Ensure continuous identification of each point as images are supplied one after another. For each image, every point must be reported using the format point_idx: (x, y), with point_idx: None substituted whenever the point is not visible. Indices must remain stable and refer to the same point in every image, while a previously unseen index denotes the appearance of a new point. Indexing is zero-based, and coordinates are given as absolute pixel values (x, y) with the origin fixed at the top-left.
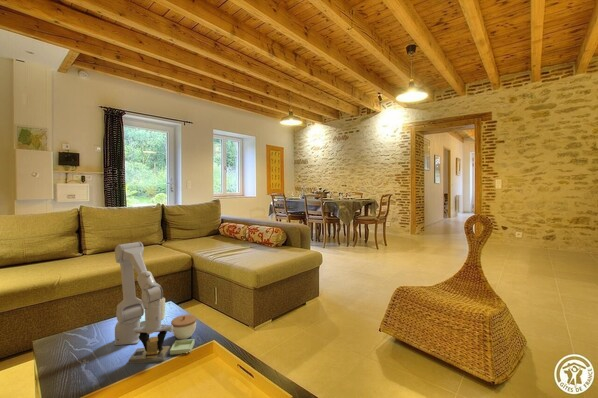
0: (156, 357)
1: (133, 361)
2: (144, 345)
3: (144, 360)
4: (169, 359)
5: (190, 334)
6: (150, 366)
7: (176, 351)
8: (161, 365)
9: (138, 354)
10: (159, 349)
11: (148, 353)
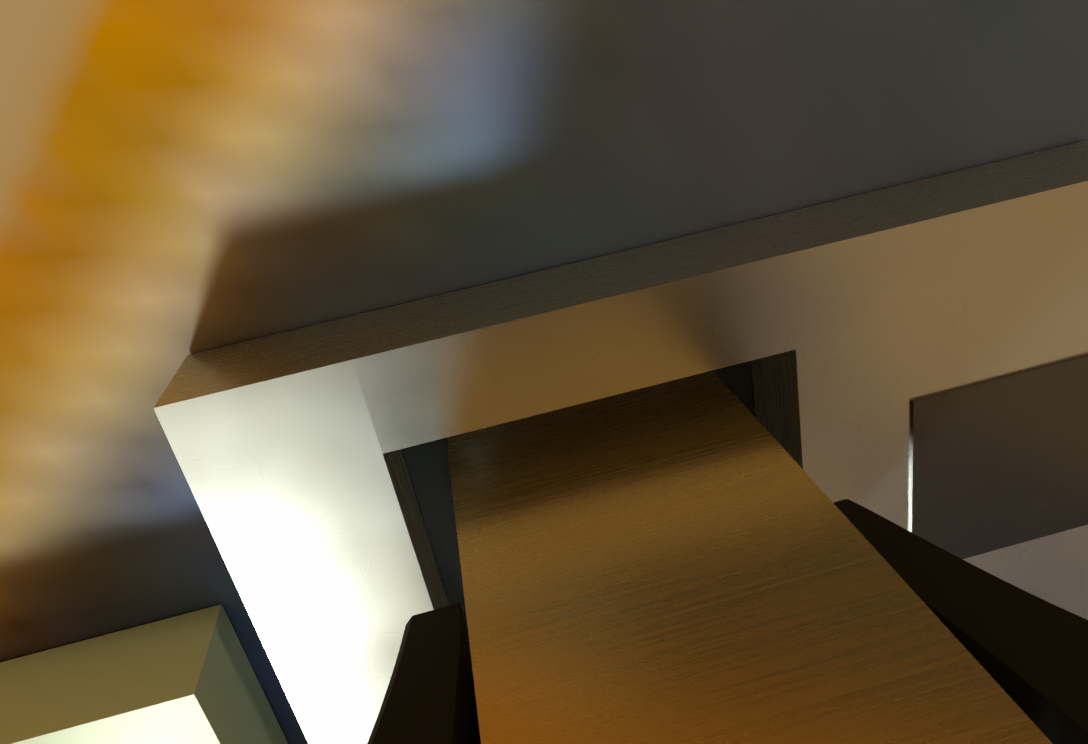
0: (392, 351)
1: (1011, 173)
2: (1029, 613)
3: (726, 242)
4: (68, 431)
5: None
6: (417, 46)
7: (11, 710)
8: (84, 122)
9: (1002, 418)
10: (434, 628)
11: (729, 449)
